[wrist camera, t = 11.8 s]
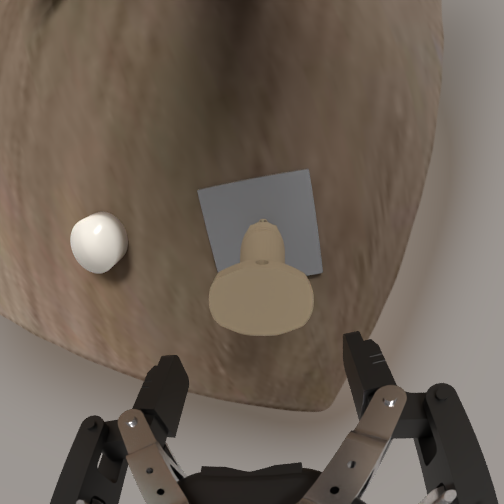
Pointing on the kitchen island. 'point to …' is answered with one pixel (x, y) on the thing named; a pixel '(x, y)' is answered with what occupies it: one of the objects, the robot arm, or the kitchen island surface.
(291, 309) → the handle
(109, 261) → the white dome knob
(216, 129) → the kitchen island surface
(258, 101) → the kitchen island surface
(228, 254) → the coaster
